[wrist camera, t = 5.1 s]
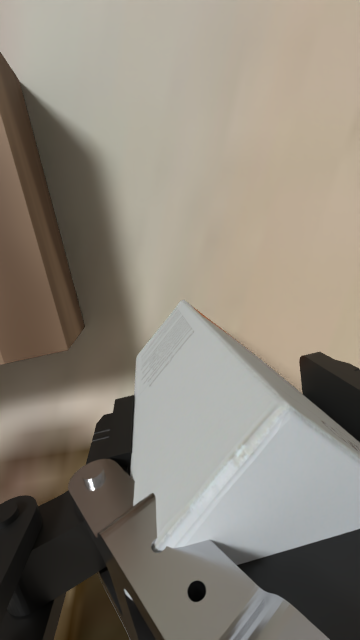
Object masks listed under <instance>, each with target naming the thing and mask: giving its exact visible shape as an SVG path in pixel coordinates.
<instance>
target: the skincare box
mask: <svg viewBox="0 0 360 640" xmlns="http://www.w3.org/2000/svg"><path fill="white" fill-rule="evenodd" d="M130 477H131V478H132V479H133V480H134V481H135V485H134V500H133V506H134V505H136V504H137V503H138V502H140V501H141V500H142V499H144V498H145V497H146V496H148V495H149V494H151V493H154V494H155V498H156V522H157V539H156V541H155V543H154V546H153V552H155V553H160V552H162V551H163V550H164V549H165V548H166V546H168V547H171V548H178V547H184V546H188V545H191V544H195V543H199V542H203V541H206V540H211V541H212V542H213V543H214V544H215V545H216V546H217V547H218V548H219V549H220V550H221V551H222V552H223V553H224V554H225V555H226V556H227V557H228V558H229V559H230V560H231V561H233V562H234V563H235V564H236V565H239V564H242V563H245V562H249V561H252V560H256V559H259V558H263V557H266V556H269V555H273V554H276V553H280V552H283V551H286V550H290V549H293V548H297V547H300V546H303V545H307V544H310V543H314V542H317V541H320V540H324V539H327V538H331V537H334V536H337V535H341V534H344V533H347V532H351V531H354V530H357V529H360V442H359V441H358V440H356V439H355V438H354V437H353V436H352V435H350V434H349V433H348V432H347V431H346V430H344V429H343V428H342V427H341V426H340V425H339V424H337V423H336V422H335V421H334V420H333V419H331V418H330V417H329V416H328V415H327V414H325V413H324V412H323V411H322V410H321V409H320V408H318V407H317V406H316V405H315V404H314V403H312V402H311V401H310V400H309V399H308V398H306V397H305V396H304V395H303V394H302V393H301V392H299V391H298V390H297V389H296V388H295V387H293V386H292V385H291V384H290V383H289V382H287V381H286V380H285V379H284V378H283V377H281V376H280V375H279V374H278V373H277V372H275V371H274V370H273V369H272V368H271V367H269V366H268V365H267V364H266V363H264V362H263V361H262V360H261V359H260V358H258V357H257V356H256V355H255V354H253V353H252V352H251V351H250V350H248V349H247V348H246V347H245V346H243V345H242V344H241V343H239V342H238V341H237V340H235V339H234V338H233V337H232V336H230V335H229V334H228V333H226V332H225V331H224V330H222V329H221V328H220V327H219V326H217V325H216V324H215V323H213V322H212V321H211V320H209V319H208V318H207V317H205V316H204V315H203V314H202V313H200V312H199V311H198V310H196V309H195V308H194V307H192V306H191V305H190V304H189V303H188V302H186V301H185V300H182V301H180V302H179V304H178V305H177V306H176V308H175V309H174V310H173V312H172V313H171V314H170V316H169V317H168V318H167V319H166V320H165V322H164V323H163V324H162V325H161V326H160V328H159V329H158V330H157V331H156V333H155V334H154V335H153V336H152V338H151V339H150V340H149V341H148V343H147V344H146V345H145V346H144V348H143V349H142V350H141V351H140V353H139V354H138V355H137V358H136V372H135V391H134V414H133V432H132V455H131V470H130ZM124 591H125V594H126V595H127V596H128V597H129V598H130V599H131V600H132V598H131V596H130V595H129V593H128V592H127V591H126V590H125V589H124Z"/></svg>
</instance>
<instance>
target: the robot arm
mask: <svg viewBox="0 0 360 640" xmlns="http://www.w3.org/2000/svg"><path fill="white" fill-rule="evenodd" d="M300 372H301V382H302V391H303V395H304V396H305V397H306V398H308V399H309V400H310V401H311V402H312V403H314V404H315V405H316V406H317V407H318V408H320V409H321V410H322V411H323V412H324V413H325V414H327V415H328V416H329V417H330V418H331V419H333V420H334V421H335V422H336V423H337V424H339V425H340V426H341V427H342V428H343V429H344V430H346V431H347V432H348V433H349V434H350V435H352V436H353V437H354V438H355V439H356V440H358V441H359V442H360V370H359V368H357V367H355V366H353V365H351V364H349V363H345V362H341V361H337V360H334V359H332V358H331V357H329V356H327V355H325V354H323V353H321V352H316V353H312V354H308V355H304V356H301V357H300ZM133 414H134V395H132V396H128V397H124V398H119V399H116V400H115V404H114V410H113V413H110V414H106V415H104V416H103V417H102V418H101V419H100V420H99V422H98V423H97V424H96V428H95V432H94V436H93V439H92V441H93V442H92V443H91V447H90V451H89V455H88V459H87V462H86V465H85V466H83V467H82V468H80V469H79V470H78V471H77V472H76V473H75V474H74V475H73V476H72V478H71V480H70V482H69V485H68V489H69V490H68V491H67V492H65V493H64V494H62V495H60V496H58V497H57V498H54V499H52V500H50V501H48V502H46V503H44V504H42V505H40V506H38V505H37V503H36V500H35V499H34V498H33V497H31V496H18V497H15V498H12V499H10V500H8V501H5V502H4V503H2V504H0V640H54V636H55V632H56V629H57V625H58V621H59V617H60V614H61V610H62V606H63V602H64V599H65V595H66V592H67V591H68V590H70V589H71V588H73V587H75V586H76V585H78V584H79V583H81V582H83V581H84V580H86V579H87V578H89V577H91V576H92V575H94V574H95V573H97V575H98V576H99V578H100V580H101V582H102V584H103V586H104V588H105V590H106V592H107V594H108V596H109V598H110V600H111V602H112V604H113V606H114V608H115V610H116V611H117V613H118V615H119V617H120V619H121V621H122V623H123V625H124V627H125V629H126V631H127V633H128V636H129V638H130V640H360V529H357V530H354V531H351V532H347V533H344V534H341V535H337V536H334V537H331V538H327V539H324V540H320V541H317V542H314V543H310V544H307V545H303V546H300V547H297V548H293V549H290V550H286V551H283V552H280V553H276V554H273V555H269V556H266V557H263V558H259V559H256V560H252V561H249V562H245V563H242V564H239V565H236V564H235V563H234V562H233V561H231V560H230V559H229V558H228V557H227V556H226V555H225V554H224V553H223V552H222V551H221V550H220V549H219V548H218V547H217V546H216V545H215V544H214V543H213V542H212V541H211V540H206V541H203V542H199V543H195V544H191V545H188V546H184V547H178V548H171V547H168V546H166V548H165V549H164V550H163V551H162V552H160V553H155V552H153V546H154V543H155V541H156V539H157V522H156V498H155V494H154V493H151V494H149V495H148V496H146V497H145V498H144V499H142V500H141V501H140V502H138V503H137V504H136V505H134V506H133V500H134V485H135V481H134V480H133V479H132V478H131V477H130V470H131V455H132V432H133ZM124 589H125V590H126V591H127V592H128V593H129V595H130V596H131V598H132V600H131V599H130V598H129V597H128V596H127V595H126V594H125V591H124Z"/></svg>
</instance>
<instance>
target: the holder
mask: <svg viewBox="0 0 360 640" xmlns="http://www.w3.org/2000/svg"><path fill="white" fill-rule="evenodd" d="M84 327H85V325H84V322H83V318H82V314H81V310H80V307H79V303H78V299H77V295H76V292H75V288H74V284H73V280H72V277H71V273H70V269H69V265H68V262H67V258H66V254H65V250H64V247H63V243H62V239H61V235H60V232H59V228H58V224H57V220H56V217H55V213H54V209H53V205H52V202H51V198H50V194H49V190H48V187H47V183H46V179H45V175H44V171H43V168H42V164H41V160H40V156H39V153H38V149H37V145H36V141H35V138H34V134H33V130H32V126H31V123H30V119H29V115H28V111H27V108H26V104H25V100H24V96H23V93H22V89H21V85H20V81H19V80H18V78H17V76H16V75H15V73H14V72H13V70H12V69H11V67H10V66H9V64H8V63H7V61H6V60H5V58H4V57H3V55H2V54H1V52H0V365H1V364H6V363H11V362H15V361H20V360H25V359H29V358H34V357H39V356H43V355H48V354H52V353H57V352H62V351H66V350H69V348H70V347H71V345H72V344H73V343H74V341H75V340H76V338H77V337H78V336H79V334H80V333H81V331H82V330H83V329H84Z"/></svg>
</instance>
